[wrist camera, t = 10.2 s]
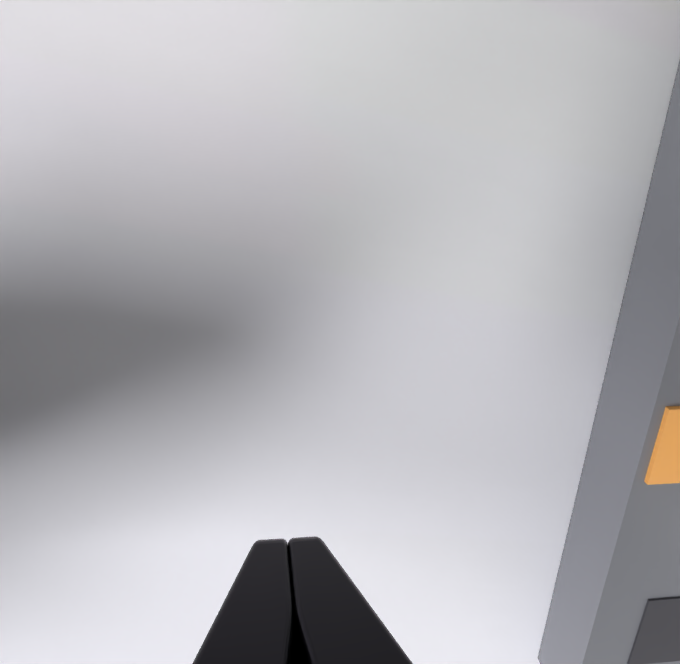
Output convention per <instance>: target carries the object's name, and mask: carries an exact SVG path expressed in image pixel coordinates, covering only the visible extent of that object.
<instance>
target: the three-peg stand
mask: <svg viewBox="0 0 680 664" xmlns="http://www.w3.org/2000/svg"><path fill="white" fill-rule="evenodd" d="M538 660H539V662H540V664H680V62H679V66H678V70H677V74H676V79H675V83H674V87H673V91H672V95H671V100H670V104H669V108H668V112H667V116H666V121H665V125H664V129H663V133H662V137H661V142H660V146H659V150H658V154H657V159H656V163H655V167H654V171H653V175H652V180H651V184H650V188H649V192H648V196H647V201H646V205H645V209H644V213H643V217H642V222H641V226H640V230H639V234H638V238H637V243H636V247H635V251H634V255H633V260H632V264H631V268H630V272H629V276H628V281H627V285H626V289H625V293H624V297H623V302H622V306H621V310H620V314H619V318H618V323H617V327H616V331H615V335H614V339H613V344H612V348H611V352H610V356H609V361H608V365H607V369H606V373H605V377H604V382H603V386H602V390H601V394H600V398H599V403H598V407H597V411H596V415H595V419H594V424H593V428H592V432H591V436H590V441H589V445H588V449H587V453H586V457H585V462H584V466H583V470H582V474H581V478H580V483H579V487H578V491H577V495H576V499H575V504H574V508H573V512H572V516H571V520H570V525H569V529H568V533H567V537H566V542H565V546H564V550H563V554H562V558H561V563H560V567H559V571H558V575H557V579H556V584H555V588H554V592H553V596H552V600H551V605H550V609H549V613H548V617H547V621H546V626H545V630H544V634H543V638H542V643H541V647H540V651H539V655H538Z"/></svg>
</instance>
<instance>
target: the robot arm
mask: <svg viewBox="0 0 680 664" xmlns="http://www.w3.org/2000/svg"><path fill="white" fill-rule="evenodd" d="M193 664H413V663H412V662H411V661H410V659H409V658H408V657H407V655H406V654H405V653H404V651H403V650H402V648H401V647H400V646H399V644H398V643H397V642H396V640H395V639H394V638H393V636H392V635H391V633H390V632H389V631H388V629H387V628H386V627H385V625H384V624H383V622H382V621H381V620H380V618H379V617H378V616H377V614H376V613H375V612H374V610H373V609H372V607H371V606H370V605H369V603H368V602H367V601H366V599H365V598H364V597H363V595H362V594H361V592H360V591H359V590H358V588H357V587H356V586H355V584H354V583H353V582H352V580H351V579H350V577H349V576H348V575H347V573H346V572H345V571H344V569H343V568H342V567H341V565H340V564H339V562H338V561H337V560H336V558H335V557H334V556H333V554H332V553H331V552H330V550H329V549H328V547H327V546H326V545H325V543H324V542H323V541H322V540H321V539H320V538H319V537H301V538H292V539H290V540H289V542H288V544H287V542H286V540H284V539H268V540H258V541H256V542H255V543H254V544H253V546H252V548H251V550H250V552H249V554H248V556H247V557H246V559H245V561H244V563H243V565H242V567H241V569H240V571H239V573H238V575H237V577H236V579H235V581H234V583H233V585H232V587H231V589H230V591H229V593H228V595H227V597H226V599H225V601H224V603H223V605H222V607H221V609H220V611H219V613H218V615H217V617H216V618H215V620H214V622H213V624H212V626H211V628H210V630H209V632H208V634H207V636H206V638H205V640H204V642H203V644H202V646H201V648H200V650H199V652H198V654H197V656H196V658H195V660H194V662H193Z"/></svg>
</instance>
